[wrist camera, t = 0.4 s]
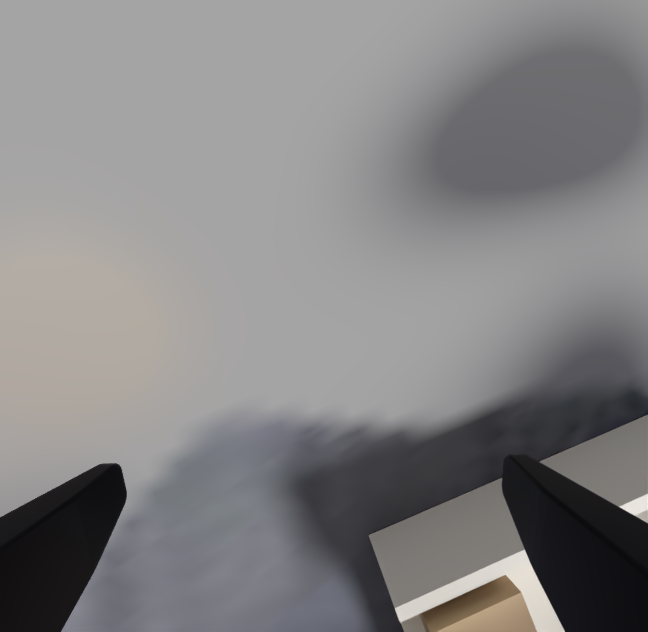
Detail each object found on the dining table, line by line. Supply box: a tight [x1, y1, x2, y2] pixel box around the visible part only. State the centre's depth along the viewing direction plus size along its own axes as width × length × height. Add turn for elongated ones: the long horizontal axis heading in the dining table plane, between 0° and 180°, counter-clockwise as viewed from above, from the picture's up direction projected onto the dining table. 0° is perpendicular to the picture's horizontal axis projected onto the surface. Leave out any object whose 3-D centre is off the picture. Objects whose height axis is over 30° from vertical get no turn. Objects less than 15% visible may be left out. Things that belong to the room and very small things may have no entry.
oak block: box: [419, 575, 537, 632], centre depth 17 cm, size 4×4×4 cm
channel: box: [369, 415, 648, 632], centre depth 19 cm, size 11×22×6 cm, turn 111°
